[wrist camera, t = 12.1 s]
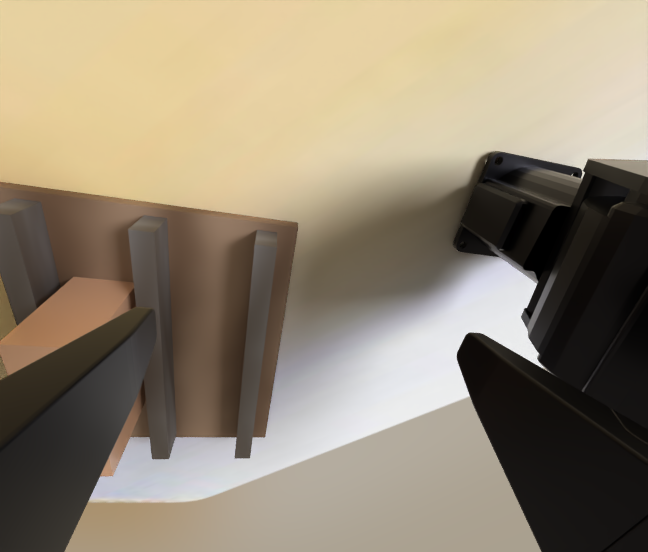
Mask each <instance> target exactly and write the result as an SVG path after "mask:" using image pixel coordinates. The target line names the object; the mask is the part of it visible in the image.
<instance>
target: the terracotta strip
mask: <svg viewBox="0 0 648 552" xmlns="http://www.w3.org/2000/svg"><path fill="white" fill-rule="evenodd" d="M135 307H136V301H135V291H134V282H125V281H114V280H103V279H93V278H82V277H73V278H72V279H70V280H69V281H68V282H67V283H66V284H65V285H64V286H62V287H61V288H60V289H59V290H58V291H57V292H56V293H54V294H53V295H52V296H51V297H50V298H49V299H48V300H46V301H45V302H44V303H43V304H42V305H41V306H40V307H38V308H37V309H36V310H35V311H34V312H33V313H32V314H30V315H29V316H28V317H27V318H26V319H25V320H24V321H22V322H21V323H20V324H19V325H18V326H17V327H16V328H14V329H13V330H12V331H11V332H10V333H9V334H8V335H6V336H5V337H4V338H3V339H2V340H1V341H0V355H1V358H2V361H3V363H4V366H5V369H6V371H7V374H8V375H10V374H12V373H14V372H16V371H18V370H20V369H21V368H23V367H25V366H27V365H29V364H31V363H33V362H34V361H36V360H38V359H40V358H42V357H44V356H46V355H47V354H49V353H51V352H53V351H55V350H57V349H59V348H60V347H62V346H64V345H66V344H68V343H70V342H72V341H73V340H75V339H77V338H79V337H81V336H83V335H85V334H86V333H88V332H90V331H92V330H94V329H96V328H97V327H99V326H101V325H103V324H105V323H107V322H109V321H110V320H112V319H114V318H116V317H118V316H120V315H122V314H123V313H125V312H127V311H129V310H131V309H133V308H135ZM145 402H146V396H145V386H144V379H143V382H142V385H141V388H140V391H139V393H138V396H137V398H136V401H135V403H134V405H133V407H132V410H131V412H130V414H129V416H128V418H127V420H126V422H125V424H124V427H123V429H122V431H121V433H120V435H119V437H118V439H117V441H116V443H115V446H114V448H113V450H112V452H111V454H110V456H109V458H108V460H107V462H106V465H105V467H104V469H103V471H102V473H101V475H100V476H113V475H114V472H115V470H116V468H117V466H118V463H119V461H120V459H121V456H122V454H123V452H124V450H125V447H126V445H127V443H128V440H129V438H130V436H131V434H132V431H133V429H134V427H135V424H136V422H137V420H138V418H139V415H140V413H141V411H142V408H143V406H144V404H145Z"/></svg>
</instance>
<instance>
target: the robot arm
mask: <svg viewBox="0 0 648 552" xmlns="http://www.w3.org/2000/svg"><path fill="white" fill-rule="evenodd" d="M497 157H499V161H498V162H497V163H496V164H495V160H496V158H497ZM583 171H584V172H585V174H584V177H583V179H581V176H582V170H581V169H579V168H576V167H572V166H567V165H562V164H557V163H552V162H548V161H543V160H538V159H533V158H529V157H524V156H519V155H514V154H509V153H505V152H500V151H495V152H493V153H492V154H490V156H489V157H488V159H487V162H486V164H485V167H484V169H483V171H482V174H481V176H480V179H479V181H478V184H477V185H476V186H475V189H474V191H473V193H472V196H471V198H470V201H469V203H468V206H467V208H466V211H465V213H464V216H463V218H462V221H461V225H460V228H459V230H458V233H457V235H456V238H455V240H454V243H453V245H454V248H455V249H456V250H458V251H460V252H466V253H473V254H481V255H488V256H496V257H501V258H502V259H504V260H505V261H506V262H508V263H509V264H511V265H512V266H513V267H515V268H516V269H518V270H519V271H520V272H522V273H523V274H524V275H526V276H527V277H529V278H530V279H531V280H533V281H534V282H536V283H537V286H536V288H535V291H534V293H533V295H532V298H531V300H530V302H529V305H528V307H527V308H525V309H524V311H523V313H522V316H521V318H522V320H523V322H524V324H525V325H526V327H527V329H528V337H529V339H530V341H531V342H532V344H533V345H534V347H535V349H536V350H537V352H538V353H539V355H538V357H537V359H538V361H539V362H540V363H541V365H542V366H543V367H545V368H546V369H547V370H548V371H549V372H550V373H549V372H548V371H546V370H544V369H542V368H541V367H539V366H537V365H536V364H534V363H532V362H530V361H529V360H527V359H525V358H523V357H522V356H520V355H518V354H517V353H515V352H513V351H511V350H510V349H508V348H506V347H504V346H503V345H501V344H499V343H498V342H496V341H494V340H492V339H491V338H489V337H487V336H485V335H484V334H481V333H468V334H467V335H466V336H465V338H464V340H463V342H462V344H461V346H460V348H459V350H458V352H457V361H458V364H459V367H460V369H461V372H462V375H463V378H464V381H465V383H466V386H467V389H468V392H469V395H470V397H471V400H472V403H473V405H474V408H475V410H476V412H477V414H478V416H479V418H480V421H481V423H482V425H483V427H484V429H485V432H486V434H487V436H488V438H489V440H490V442H491V444H492V447H493V449H494V451H495V453H496V455H497V457H498V459H499V462H500V464H501V466H502V468H503V470H504V472H505V474H506V477H507V479H508V481H509V483H510V485H511V487H512V489H513V491H514V494H515V496H516V498H517V500H518V502H519V504H520V507H521V509H522V511H523V513H524V515H525V517H526V520H527V522H528V524H529V526H530V528H531V530H532V532H533V535H534V537H535V539H536V541H537V543H538V545H539V547H540V549H541V552H648V161H647V160H615V159H588V161H587V163H586V165H585V168H584V170H583ZM572 174H573V176H571V175H572ZM462 242H464V243H463V245H462V246H460V244H461V243H462ZM156 338H157V329H156V315H155V310H154V309H153V308H147V307H135V308H133V309H131V310H129V311H127V312H125V313H123V314H122V315H120V316H118V317H116V318H114V319H112V320H110V321H109V322H107V323H105V324H103V325H101V326H99V327H97V328H96V329H94V330H92V331H90V332H88V333H86V334H85V335H83V336H81V337H79V338H77V339H75V340H73V341H72V342H70V343H68V344H66V345H64V346H62V347H60V348H59V349H57V350H55V351H53V352H51V353H49V354H47V355H46V356H44V357H42V358H40V359H38V360H36V361H34V362H33V363H31V364H29V365H27V366H25V367H23V368H21V369H20V370H18V371H16V372H14V373H12V374H10V375H8V376H7V377H5V378H3V379H1V380H0V552H64V551H65V549H66V547H67V545H68V543H69V540H70V539H71V536H72V534H73V532H74V530H75V528H76V526H77V524H78V521H79V520H80V517H81V515H82V513H83V511H84V509H85V507H86V505H87V503H88V501H89V498H90V496H91V494H92V492H93V490H94V488H95V486H96V484H97V482H98V479H99V477H100V475H101V473H102V471H103V469H104V467H105V465H106V462H107V460H108V458H109V456H110V454H111V452H112V450H113V448H114V446H115V443H116V441H117V439H118V437H119V435H120V433H121V431H122V429H123V427H124V424H125V422H126V420H127V418H128V416H129V414H130V412H131V410H132V407H133V405H134V403H135V401H136V398H137V396H138V393H139V391H140V388H141V385H142V382H143V379H144V376H145V373H146V370H147V367H148V364H149V361H150V358H151V355H152V352H153V349H154V346H155V343H156Z"/></svg>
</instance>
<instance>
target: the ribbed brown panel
mask: <svg viewBox="0 0 648 552" xmlns="http://www.w3.org/2000/svg"><path fill="white" fill-rule="evenodd" d="M297 231H298V223H295V222H287V221H280V220H273V219H266V218H258V217H251V216H244V215H237V214H229V213H222V212H215V211H208V210H200V209H193V208H186V207H178V206H171V205H164V204H157V203H149V202H142V201H135V200H128V199H120V198H113V197H106V196H99V195H91V194H84V193H77V192H70V191H62V190H55V189H48V188H40V187H33V186H26V185H19V184H11V183H4V182H0V274H1V277H2V281H3V284H4V287H5V290H6V293H7V296H8V299H9V302H10V305H11V308H12V311H13V314H14V317H15V321H16V324H17V326H18V325H19V324H20V323H21V322H22V321H24V320H25V319H26V318H27V317H28V316H29V315H30V314H32V313H33V312H34V311H35V310H36V309H37V308H38V307H40V306H41V305H42V304H43V303H44V302H45V301H46V300H48V299H49V298H50V297H51V296H52V295H53V294H54V293H56V292H57V291H58V290H59V289H60V288H61V287H62V286H64V285H65V284H66V283H67V282H68V281H69V280H70V279H72V278H73V277H82V278H93V279H103V280H114V281H125V282H134V291H135V301H136V307H147V308H153V309H154V310H155V315H156V329H157V338H156V343H155V346H154V349H153V352H152V355H151V358H150V361H149V364H148V367H147V370H146V373H145V376H144V386H145V396H146V402H145V404H144V406H143V408H142V411H141V413H140V415H139V418H138V420H137V422H136V424H135V427H134V429H133V431H132V434H131V436H130V437H150V443H151V453H152V459H169V457H170V453H171V450H172V447H173V443H174V440H175V437H237V439H236V450H235V458H250V453H251V445H252V437H265V434H266V428H267V421H268V415H269V409H270V402H271V396H272V390H273V383H274V377H275V371H276V364H277V358H278V352H279V345H280V339H281V333H282V326H283V320H284V314H285V307H286V301H287V295H288V288H289V282H290V276H291V269H292V263H293V257H294V250H295V244H296V238H297Z"/></svg>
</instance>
